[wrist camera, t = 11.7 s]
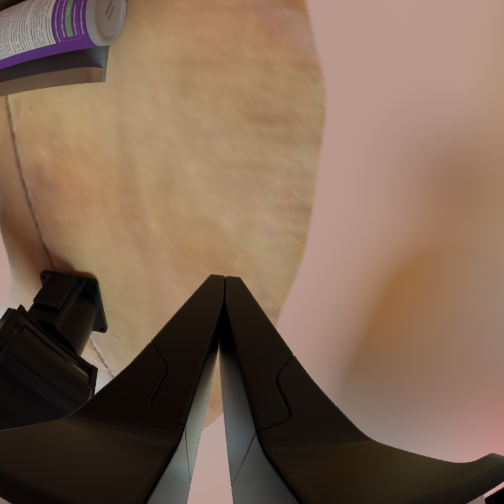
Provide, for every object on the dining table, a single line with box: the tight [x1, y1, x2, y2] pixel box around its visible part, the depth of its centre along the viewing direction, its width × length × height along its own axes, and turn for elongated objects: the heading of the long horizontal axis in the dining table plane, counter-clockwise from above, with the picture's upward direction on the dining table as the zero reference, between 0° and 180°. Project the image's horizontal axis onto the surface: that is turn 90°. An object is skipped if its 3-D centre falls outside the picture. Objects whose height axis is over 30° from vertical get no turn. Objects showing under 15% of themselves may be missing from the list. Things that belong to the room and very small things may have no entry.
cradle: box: [0, 0, 109, 96], centre depth 12 cm, size 9×16×3 cm, turn 82°
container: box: [0, 0, 127, 69], centre depth 11 cm, size 5×5×15 cm
